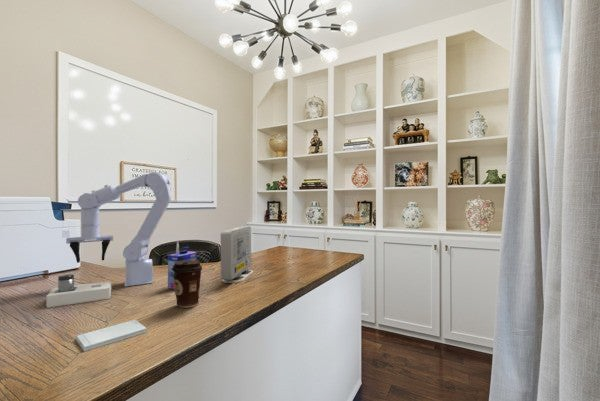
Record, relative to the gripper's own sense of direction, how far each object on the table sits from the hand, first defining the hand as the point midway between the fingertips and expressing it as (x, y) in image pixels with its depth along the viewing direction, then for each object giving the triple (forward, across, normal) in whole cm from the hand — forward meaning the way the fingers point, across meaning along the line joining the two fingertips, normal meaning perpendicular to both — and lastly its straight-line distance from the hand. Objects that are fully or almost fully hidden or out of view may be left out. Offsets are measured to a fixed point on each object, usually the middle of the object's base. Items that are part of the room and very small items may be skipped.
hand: (90, 261), depth 113 cm
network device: (+10, -52, +17) cm, 56 cm away
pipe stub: (+9, +5, +17) cm, 20 cm away
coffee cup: (+10, -28, +42) cm, 51 cm away
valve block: (+9, +1, +17) cm, 19 cm away
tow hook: (+10, -35, -20) cm, 41 cm away
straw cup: (+10, -30, +19) cm, 37 cm away
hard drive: (+10, -9, +55) cm, 57 cm away
